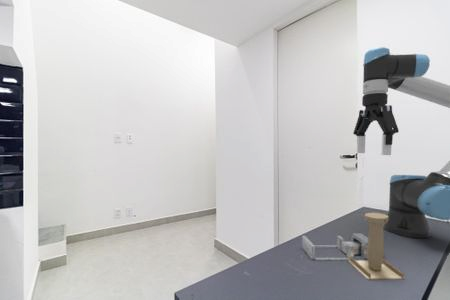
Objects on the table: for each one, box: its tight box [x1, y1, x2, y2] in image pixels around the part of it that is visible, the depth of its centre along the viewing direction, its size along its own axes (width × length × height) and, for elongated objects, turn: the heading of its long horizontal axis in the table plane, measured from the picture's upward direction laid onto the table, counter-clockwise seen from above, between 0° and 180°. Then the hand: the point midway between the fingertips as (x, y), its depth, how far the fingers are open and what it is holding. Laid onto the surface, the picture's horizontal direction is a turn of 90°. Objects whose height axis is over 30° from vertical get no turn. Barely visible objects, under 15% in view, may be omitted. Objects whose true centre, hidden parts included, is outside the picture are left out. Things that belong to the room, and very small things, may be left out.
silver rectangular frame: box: [301, 235, 355, 261], centre depth 76 cm, size 13×9×4 cm
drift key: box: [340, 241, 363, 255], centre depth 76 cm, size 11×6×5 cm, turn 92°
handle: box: [364, 212, 389, 271], centre depth 66 cm, size 5×6×15 cm
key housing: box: [350, 233, 368, 260], centre depth 76 cm, size 5×7×5 cm
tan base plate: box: [347, 257, 406, 281], centre depth 66 cm, size 10×9×2 cm
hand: (372, 154), depth 84 cm, fingers open, 13 cm apart
